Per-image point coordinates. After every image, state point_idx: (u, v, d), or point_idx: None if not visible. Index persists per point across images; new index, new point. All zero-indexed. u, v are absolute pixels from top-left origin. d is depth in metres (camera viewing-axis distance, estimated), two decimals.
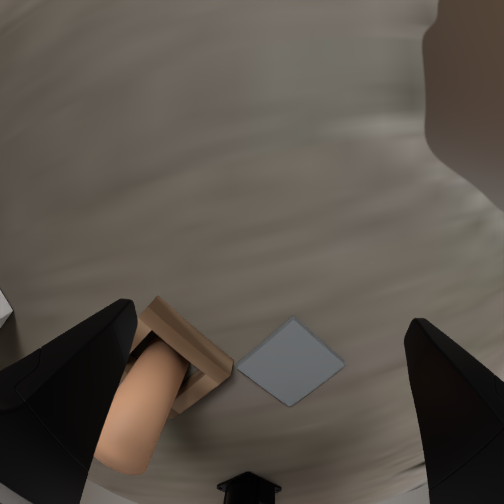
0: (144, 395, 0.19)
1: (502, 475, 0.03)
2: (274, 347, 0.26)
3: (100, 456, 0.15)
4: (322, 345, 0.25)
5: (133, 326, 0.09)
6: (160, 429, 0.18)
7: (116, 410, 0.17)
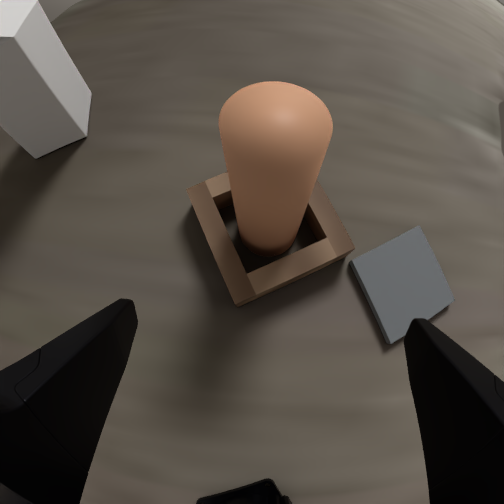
0: None
1: (502, 475, 0.03)
2: (397, 248, 0.22)
3: (234, 122, 0.11)
4: (438, 265, 0.22)
5: (133, 326, 0.09)
6: (314, 182, 0.14)
7: None
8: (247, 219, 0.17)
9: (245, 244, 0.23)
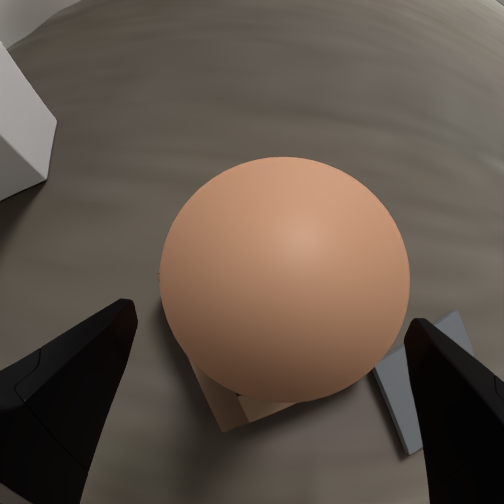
0: None
1: (502, 475, 0.03)
2: None
3: (194, 276, 0.05)
4: (474, 357, 0.16)
5: (133, 326, 0.09)
6: None
7: None
8: None
9: None
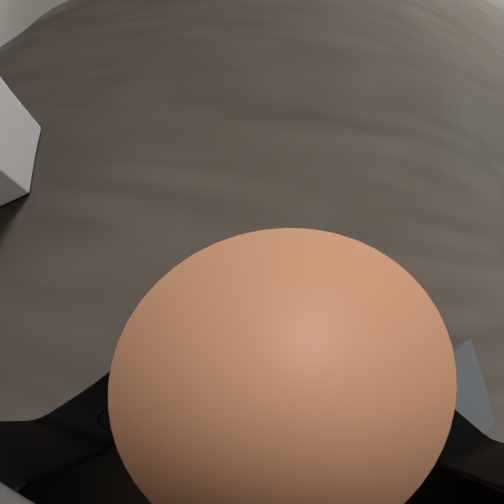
0: None
1: None
2: None
3: (154, 420, 0.03)
4: (485, 387, 0.14)
5: None
6: None
7: None
8: None
9: None
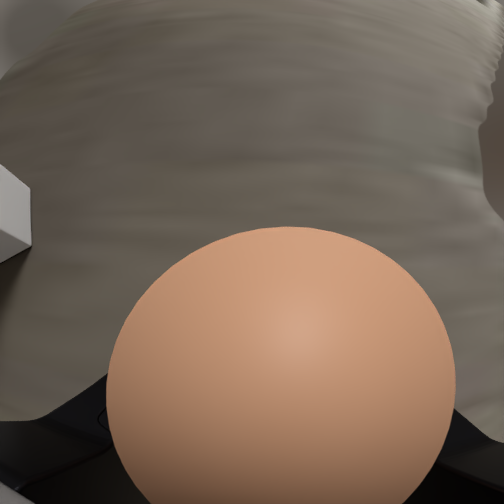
0: None
1: None
2: None
3: (152, 419, 0.03)
4: None
5: None
6: None
7: None
8: None
9: None
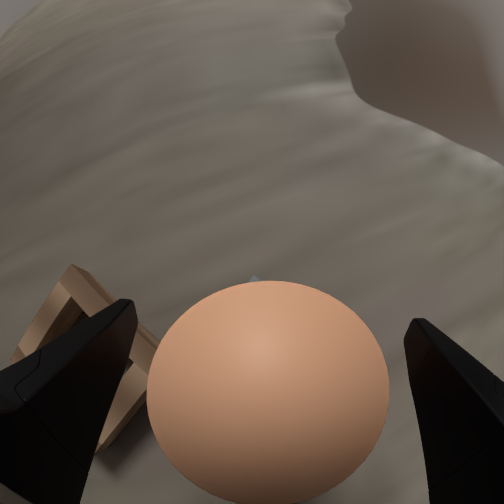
0: None
1: (502, 475, 0.03)
2: None
3: (178, 408, 0.05)
4: None
5: (133, 326, 0.09)
6: None
7: None
8: None
9: None
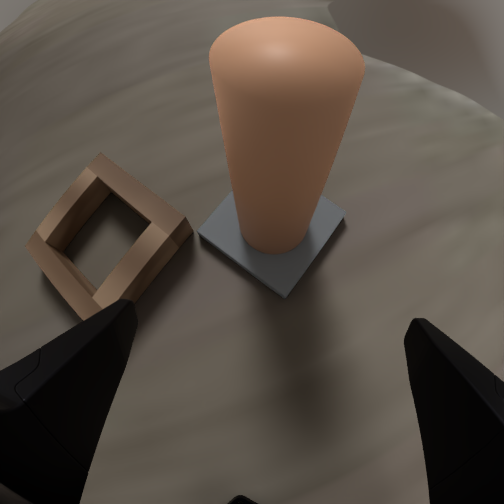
0: None
1: (502, 475, 0.03)
2: None
3: (230, 54, 0.07)
4: None
5: (133, 326, 0.09)
6: (337, 148, 0.10)
7: None
8: (248, 200, 0.13)
9: (246, 239, 0.19)
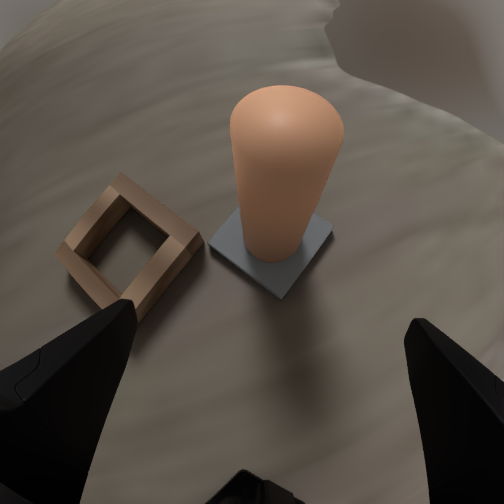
0: None
1: (502, 475, 0.03)
2: None
3: (245, 124, 0.11)
4: None
5: (133, 326, 0.09)
6: (323, 188, 0.14)
7: None
8: (253, 224, 0.17)
9: (249, 249, 0.22)
